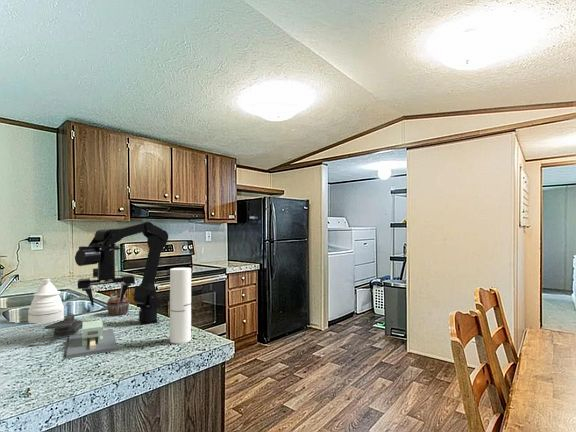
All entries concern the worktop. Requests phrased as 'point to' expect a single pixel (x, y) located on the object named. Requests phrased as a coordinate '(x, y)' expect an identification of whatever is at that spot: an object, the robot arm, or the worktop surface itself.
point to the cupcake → (117, 305)
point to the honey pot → (46, 304)
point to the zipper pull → (66, 326)
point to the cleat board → (91, 344)
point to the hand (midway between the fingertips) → (107, 304)
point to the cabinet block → (92, 331)
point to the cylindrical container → (180, 305)
